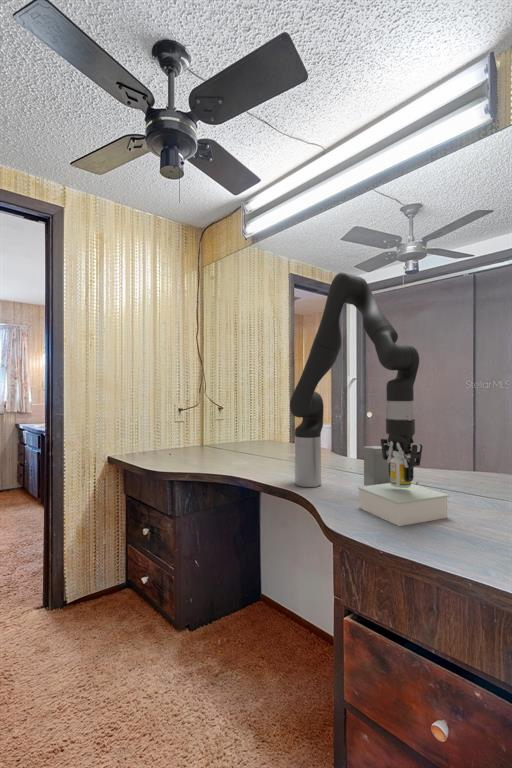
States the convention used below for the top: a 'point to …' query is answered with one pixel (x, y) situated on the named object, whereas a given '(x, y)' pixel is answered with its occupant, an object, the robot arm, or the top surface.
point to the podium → (403, 503)
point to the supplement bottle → (398, 471)
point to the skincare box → (375, 466)
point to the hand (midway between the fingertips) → (400, 478)
